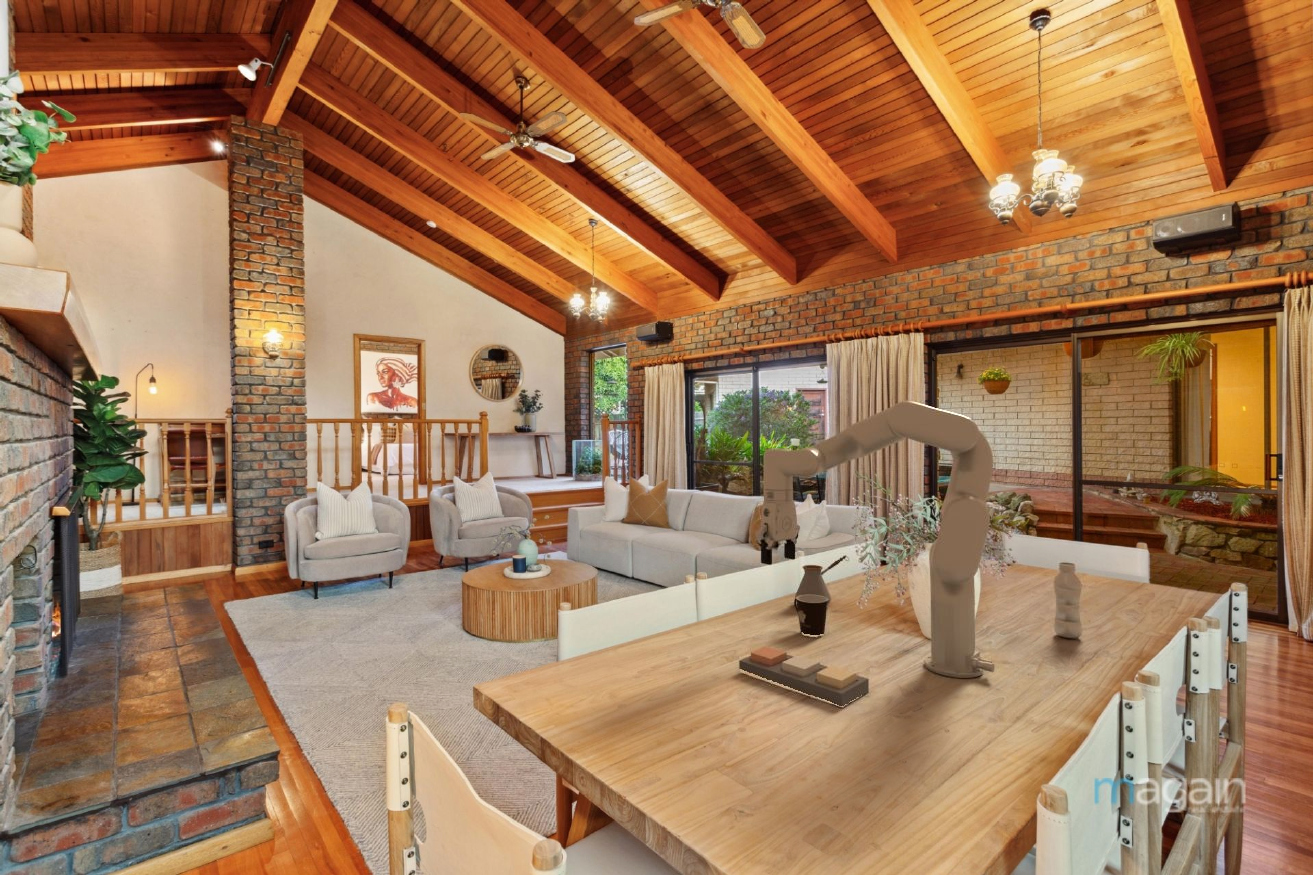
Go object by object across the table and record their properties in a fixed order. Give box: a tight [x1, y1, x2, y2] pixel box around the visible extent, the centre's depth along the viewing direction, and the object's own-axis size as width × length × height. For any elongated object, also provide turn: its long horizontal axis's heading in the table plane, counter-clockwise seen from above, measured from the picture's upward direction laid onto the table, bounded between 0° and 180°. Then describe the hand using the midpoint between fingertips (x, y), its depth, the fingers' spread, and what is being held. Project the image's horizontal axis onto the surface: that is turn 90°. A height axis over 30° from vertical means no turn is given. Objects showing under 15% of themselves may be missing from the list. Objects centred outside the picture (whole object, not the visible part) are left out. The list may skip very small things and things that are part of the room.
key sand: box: [817, 665, 857, 689], centre depth 135 cm, size 6×6×2 cm
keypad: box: [738, 654, 870, 706], centre depth 141 cm, size 27×11×3 cm, turn 43°
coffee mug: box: [793, 595, 828, 635], centre depth 176 cm, size 12×9×10 cm
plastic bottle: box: [1053, 561, 1083, 639], centre depth 169 cm, size 6×7×20 cm
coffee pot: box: [794, 555, 850, 606], centre depth 205 cm, size 21×12×15 cm, turn 119°
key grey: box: [782, 655, 821, 677], centre depth 141 cm, size 6×6×2 cm
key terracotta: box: [750, 646, 788, 667], centre depth 148 cm, size 6×6×2 cm
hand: (778, 561), depth 163 cm, fingers open, 9 cm apart
